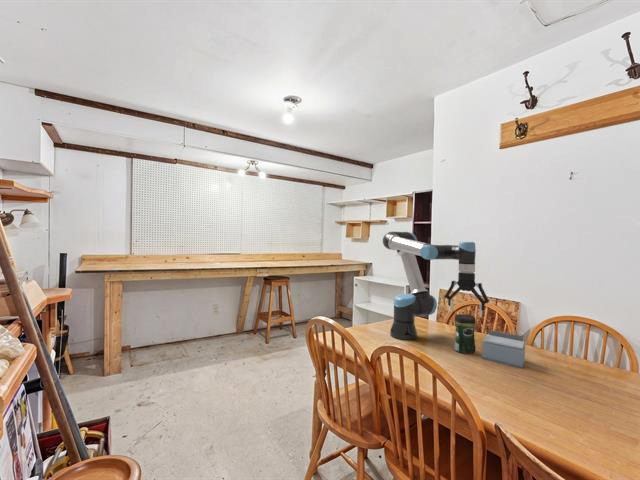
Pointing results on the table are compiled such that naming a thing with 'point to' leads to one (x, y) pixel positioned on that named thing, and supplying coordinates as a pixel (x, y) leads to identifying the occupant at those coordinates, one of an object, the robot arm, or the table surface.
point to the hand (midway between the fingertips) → (465, 314)
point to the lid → (505, 339)
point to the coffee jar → (464, 333)
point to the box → (503, 354)
